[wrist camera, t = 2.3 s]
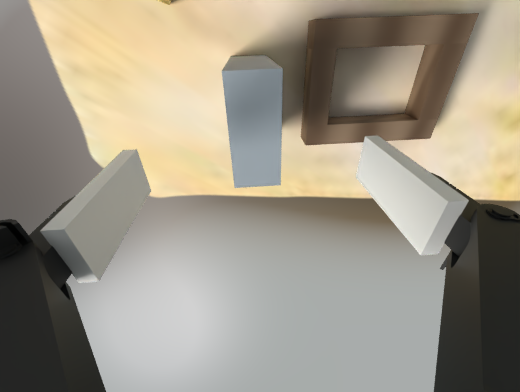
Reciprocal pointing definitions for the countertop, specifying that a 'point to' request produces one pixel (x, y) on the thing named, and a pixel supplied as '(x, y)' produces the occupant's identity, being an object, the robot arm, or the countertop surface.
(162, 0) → the candy box
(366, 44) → the frame
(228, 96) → the keyed block
